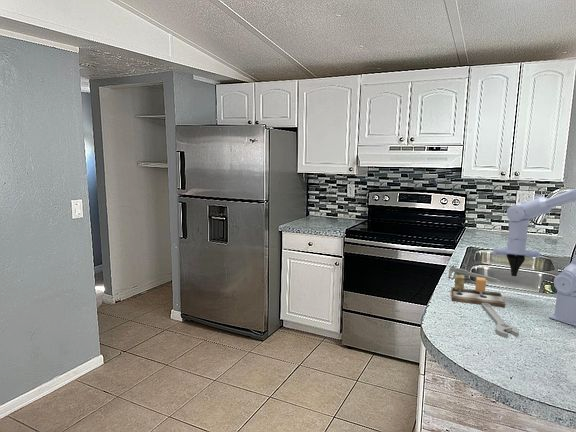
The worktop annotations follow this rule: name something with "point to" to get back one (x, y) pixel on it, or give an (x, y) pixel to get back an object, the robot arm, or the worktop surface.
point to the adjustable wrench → (500, 322)
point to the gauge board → (474, 294)
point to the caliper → (469, 274)
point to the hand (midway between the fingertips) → (513, 275)
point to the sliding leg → (480, 285)
